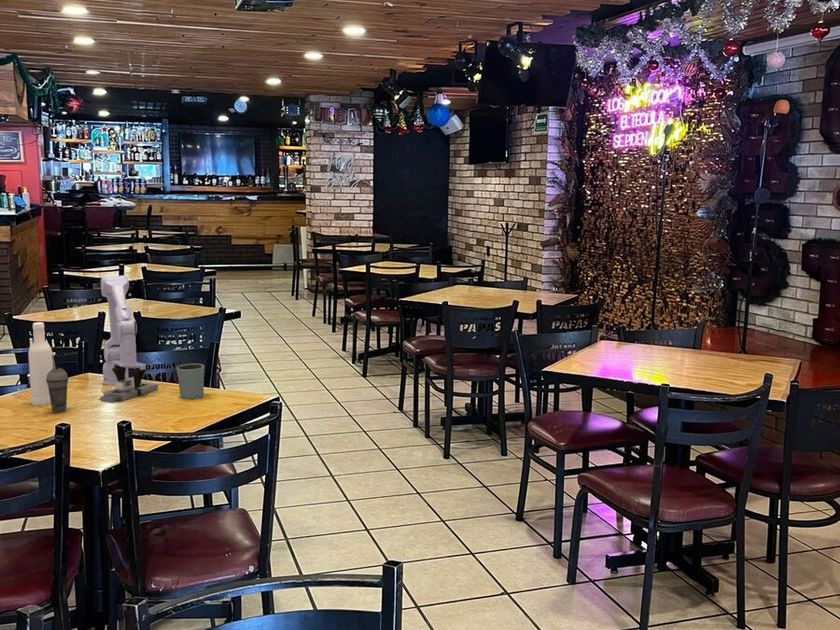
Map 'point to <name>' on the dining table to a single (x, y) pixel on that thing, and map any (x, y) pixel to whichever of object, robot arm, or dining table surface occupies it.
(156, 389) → the mat
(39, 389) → the bottle
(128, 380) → the master link
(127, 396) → the chain end
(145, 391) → the chain end
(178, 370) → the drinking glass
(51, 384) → the beverage cup
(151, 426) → the dining table surface
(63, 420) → the dining table surface
